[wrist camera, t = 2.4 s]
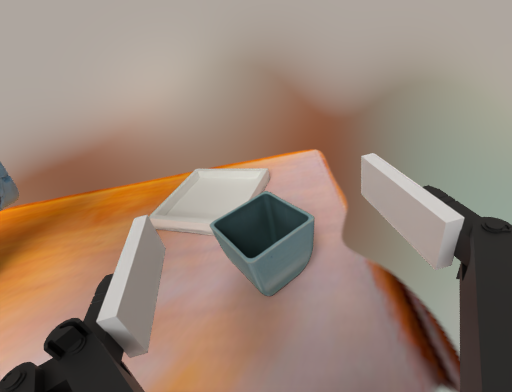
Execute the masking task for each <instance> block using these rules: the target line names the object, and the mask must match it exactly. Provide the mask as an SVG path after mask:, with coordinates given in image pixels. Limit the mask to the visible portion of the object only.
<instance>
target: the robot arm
mask: <svg viewBox="0 0 512 392" xmlns="http://www.w3.org/2000/svg"><path fill="white" fill-rule="evenodd" d="M361 194H362V195H363V196H364V197H365V198H366V199H367V200H368V202H369V203H370V204H371V205H372V206H373V207H374V208H375V209H376V210H377V211H378V212H379V213H380V214H381V215H382V216H383V217H384V218H385V219H386V220H387V221H388V222H389V223H390V224H391V225H392V226H393V227H394V228H395V229H396V230H397V231H398V232H399V233H400V234H401V235H402V236H403V237H404V238H405V240H407V241H408V243H409V244H410V245H411V246H412V247H413V248H414V249H415V250H416V251H417V252H418V253H419V254H420V255H421V256H422V257H423V258H424V259H425V260H426V261H427V262H428V263H429V264H430V265H431V266H432V267H433V268H434V269H435V270H437V269H440V268H444V267H447V266H451V265H452V261H453V258H454V256H455V257H456V258H457V259H459V260H460V261H461V264H460V268H459V271H458V274H457V277H456V279H460V392H512V225H510V224H509V223H508V222H506V221H503V220H501V219H498V218H493V217H480V216H479V215H477V214H476V213H474V212H473V211H471V210H470V209H468V208H467V207H465V206H464V205H462V204H460V203H459V202H458V201H455V199H453V198H452V197H450V196H448V195H447V194H446V193H444V192H443V191H441V190H440V189H437V188H434V187H431V186H429V185H428V186H424V187H421V186H419V185H418V184H417V183H415V182H414V181H412V180H411V179H410V178H408V177H407V176H405V175H404V174H403V173H401V172H400V171H398V170H397V169H395V168H394V167H393V166H391V165H390V164H388V163H387V162H386V161H384V160H383V159H381V158H380V157H378V156H377V155H376V154H374V153H371V154H368V155H364V156H362V157H361ZM18 198H19V191H18V189H17V187H16V185H15V183H14V182H13V180H12V179H11V177H10V176H8V173H7V171H6V169H5V168H4V166H3V165H2V164H1V162H0V211H1V210H2V209H3V208H4V207H6V206H8V205H10V204H12V203H14V202H15V201H17V200H18ZM165 249H166V248H165V246H164V244H163V242H162V241H161V239H160V237H159V235H158V233H157V231H156V230H155V228H154V226H153V224H152V222H151V221H150V219H149V217H148V215H144V216H140V217H137V218H134V221H133V223H132V226H131V229H130V232H129V234H128V237H127V240H126V242H125V245H124V248H123V250H122V253H121V256H120V259H119V261H118V264H117V267H116V269H115V272H114V273H113V274H110V275H106V276H105V277H104V279H103V280H102V281H101V282H100V284H99V285H98V287H97V290H96V292H95V294H94V295H95V296H94V297H93V299H92V302H91V303H92V304H90V307H89V309H88V311H87V314H86V316H85V319H84V321H83V322H82V321H81V320H80V319H78V318H71V319H69V320H66V321H64V322H63V323H61V324H60V325H58V326H57V327H56V328H55V329H54V330H53V331H52V332H51V333H50V334H49V336H48V337H47V338H46V341H45V343H44V351H46V352H47V353H48V354H49V355H51V356H52V357H53V358H52V359H50V360H48V361H47V362H45V363H43V364H41V365H40V366H36V365H35V364H33V363H31V362H26V363H22V364H20V365H18V366H16V367H15V368H14V369H12V370H11V371H10V372H8V373H7V374H6V375H5V377H4V378H3V379H2V380H1V381H0V392H144V390H143V389H142V387H141V386H140V385H139V383H138V382H137V380H136V379H135V378H134V376H133V375H132V374H131V372H130V371H129V369H128V368H127V367H126V365H125V364H124V363H123V362H122V361H121V360H122V356H123V352H125V353H126V354H127V355H128V356H129V357H130V358H131V357H134V356H138V355H141V354H145V353H147V352H148V347H149V341H150V335H151V329H152V324H153V318H154V312H155V307H156V301H157V295H158V289H159V284H160V278H161V272H162V266H163V261H164V255H165Z"/></svg>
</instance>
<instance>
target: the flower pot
mask: <svg viewBox="0 0 512 392" xmlns="http://www.w3.org/2000/svg"><path fill="white" fill-rule="evenodd" d="M209 226H210V228H211V230H212V231H213V233H214V235H215V237H216V238H217V240H218V242H219V244H220V246H221V247H222V249H223V251H224V252H225V254H226V255H227V257H228V258H229V259H230V260H231V261H232V263H233V264H234V265H235V266H236V267H237V268H238V269H239V270H240V271H241V272H242V273H243V274H244V275H245V276H246V277H247V278H248V279H249V280H250V281H251V282H252V283H253V284H254V286H255V287H256V288H257V289H258V290H259V291H260V292H261V293H262V294H264V295H266V296H272V295H274V294H275V293H276V292H277V291H279V290H280V289H281V288H282V287H283V286H285V285H286V284H287V283H289V282H290V281H291V280H292V279H294V278H295V277H296V276H298V275H299V274H300V273H301V271H302V270H303V269H304V268H305V266H306V265H307V263H308V261H309V259H310V257H311V254H312V249H313V237H314V216H312V215H311V214H309V213H307V212H305V211H303V210H302V209H300V208H298V207H296V206H294V205H292V204H290V203H288V202H286V201H285V200H283V199H281V198H279V197H277V196H276V195H274V194H272V193H271V192H268V191H265V192H262V193H261V194H259V195H257V196H256V197H254V198H252V199H251V200H249V201H247V202H245V203H244V204H242V205H240V206H239V207H237V208H235V209H234V210H232V211H230V212H228V213H227V214H225V215H223V216H222V217H220V218H218V219H216V220H215V221H213V222H212V223H211V224H210V225H209Z"/></svg>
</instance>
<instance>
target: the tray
mask: <svg viewBox="0 0 512 392" xmlns="http://www.w3.org/2000/svg"><path fill="white" fill-rule="evenodd" d="M269 180H270V176H269V171H268V168H266V169H195V170H194V171H193V172H192V173H191V174H190V175H189V176H188V178H187V179H186V180H185V181H184V182H183V183H182V184H181V185H180V186H179V187H178V188H177V189H176V190H175V191H174V192H173V193H172V194H171V195H170V196H169V197H168V198H167V199H166V200H165V201H164V202H163V203H162V204H161V205H160V206H159V207H158V208H157V209H156V210H155V211H154V212H153V213H152V214H151V215H150V216H149V219H150V221H151V222H152V224H153V226H154V228H155V229H159V230H168V231H177V232H187V233H196V234H205V235H214V233H213V231H212V230H211V228H210V226H209V225H210V224H211V223H212V222H213V221H215V220H216V219H218V218H220V217H222V216H223V215H225V214H227V213H228V212H230V211H232V210H234V209H235V208H237V207H239V206H240V205H242V204H244V203H245V202H247V201H249V200H251V199H252V198H254V197H256V196H257V195H259V194H261V193H262V192H263V191H264V189H265V188H266V186H267V184H268V182H269ZM214 236H215V235H214Z"/></svg>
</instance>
